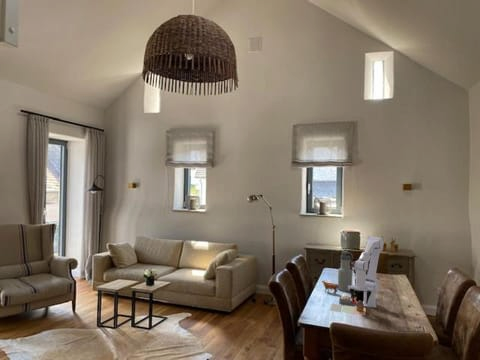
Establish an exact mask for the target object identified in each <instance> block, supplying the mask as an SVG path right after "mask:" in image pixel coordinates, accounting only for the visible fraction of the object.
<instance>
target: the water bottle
mask: <svg viewBox="0 0 480 360" xmlns="http://www.w3.org/2000/svg"><path fill="white" fill-rule="evenodd" d="M340 254H341V255H340V267H339V268H338V271H337V272H338V273H337V274H338V276H337V285H338V287H339V288H337V289H338V291H341V292H346V291H348V292H350V290H348V286H353V270H352V269H354V266H353V264H354V265H355V262H354V261H353V259H354V255H353V253H352V252H350V251H347V250H344V251H343V250H342V251H341V253H340ZM351 263H352V264H351ZM351 265H352V266H351Z"/></svg>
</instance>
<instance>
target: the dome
mask: <svg viewBox="0 0 480 360" xmlns="http://www.w3.org/2000/svg"><path fill="white" fill-rule="evenodd" d="M341 296H342V297H341V299H348V300H349V297H350V296H349V295H348V294H347V293H343V294H341Z"/></svg>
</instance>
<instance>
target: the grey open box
mask: <svg viewBox="0 0 480 360" xmlns="http://www.w3.org/2000/svg"><path fill="white" fill-rule="evenodd" d="M341 297H342V295H340V296H339V302H338V303H339V305H346V306H354V307H357V303H358V301H357V298H355V297H354V302H353V298H352V296H349V300H348V299H341Z"/></svg>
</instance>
